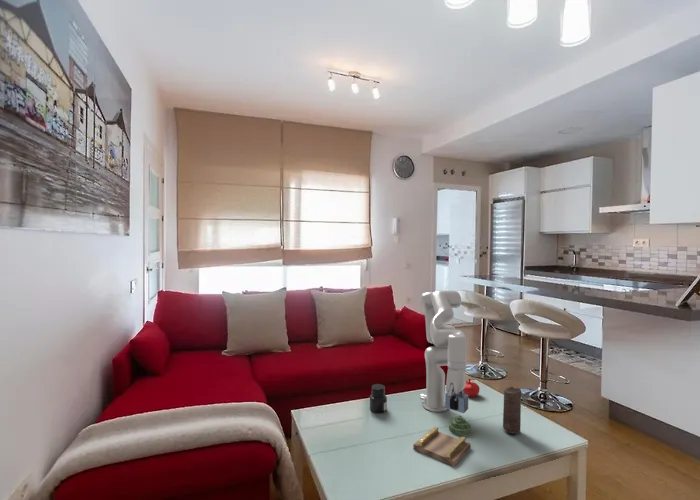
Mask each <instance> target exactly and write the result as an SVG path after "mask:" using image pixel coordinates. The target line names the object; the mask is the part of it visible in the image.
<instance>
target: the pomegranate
mask: <svg viewBox="0 0 700 500" xmlns="http://www.w3.org/2000/svg"><path fill="white" fill-rule="evenodd" d="M480 391H481V390H480V386H479V384H478V383H476V382H474V380H471V378H468V381H467V380H466V384H465V388H464V390H463V394H467V395H468V398H475V397H477V396H478V395H479V394H480Z"/></svg>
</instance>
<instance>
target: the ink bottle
mask: <svg viewBox="0 0 700 500" xmlns="http://www.w3.org/2000/svg"><path fill="white" fill-rule="evenodd" d="M385 389H386V387H385V385H384V384H382V383H381V384H380V383H375V384H372V385H371V394H370V396H369V410H370V411H371V412H372V413H374V412H375V414H383V413H385V412H387V410H388V398H387V397H388V396H387V395H386V394H385V393H386V390H385Z"/></svg>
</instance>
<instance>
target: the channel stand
mask: <svg viewBox="0 0 700 500" xmlns="http://www.w3.org/2000/svg"><path fill="white" fill-rule="evenodd" d="M466 439H467V438H466V436H460V438H457V437H454V436H452V435H449V434H446V433H443V432H440V431H439V427H438V426H434V427H433V428H431V429H429V431H427V432H426V433H425V434H424V435H422V436H421V437H420V438H419V439H418V440H416V441H415V442H414V443H413V446H412V447H413V448H412V449H413V450H415V451H418V452H420V453H422V454H425V455H427V456H429V457H431V458H434V459H435V460H439V461H441V462H443V463H445V464H448V465H449V466H450V465H451V466H453V467H455V466H456V465H457V464H458V463H459V462H460V461H461V459H462V458H463V457H464V456H465V455H466V454H467V453H468V452H469V451H470V450H471V447H472V446H471V443H470V442H467V441H466Z"/></svg>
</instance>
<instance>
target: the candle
mask: <svg viewBox="0 0 700 500" xmlns="http://www.w3.org/2000/svg"><path fill="white" fill-rule="evenodd" d="M521 406H522V389H521V388H519V387H518V386H505V387H504V389H503V409H502V410H503V412H502V413H503V414H502V415H503V416H502V429H503V430H504V432H505V433H509V434H510V433H511V434H514V435H515V434H520V433H521V422H522V421H521V418H522V417H521V415H522V414H521V413H522V411H521V409H522V407H521Z"/></svg>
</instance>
